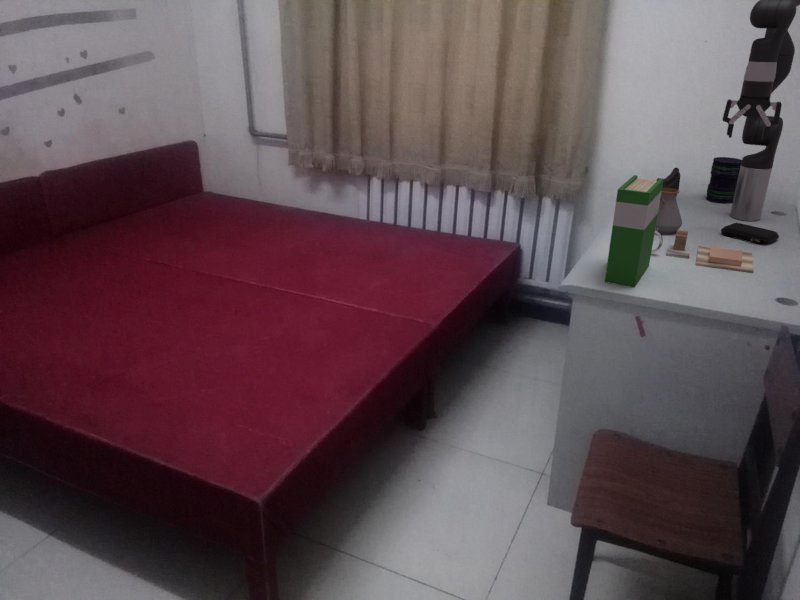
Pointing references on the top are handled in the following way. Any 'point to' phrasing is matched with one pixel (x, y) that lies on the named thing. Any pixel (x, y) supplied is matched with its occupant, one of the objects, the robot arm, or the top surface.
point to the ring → (660, 241)
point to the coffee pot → (668, 212)
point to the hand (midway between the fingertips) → (746, 138)
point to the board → (704, 261)
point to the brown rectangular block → (679, 245)
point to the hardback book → (633, 230)
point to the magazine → (672, 180)
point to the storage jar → (723, 180)
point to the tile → (725, 256)
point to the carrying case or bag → (750, 233)
